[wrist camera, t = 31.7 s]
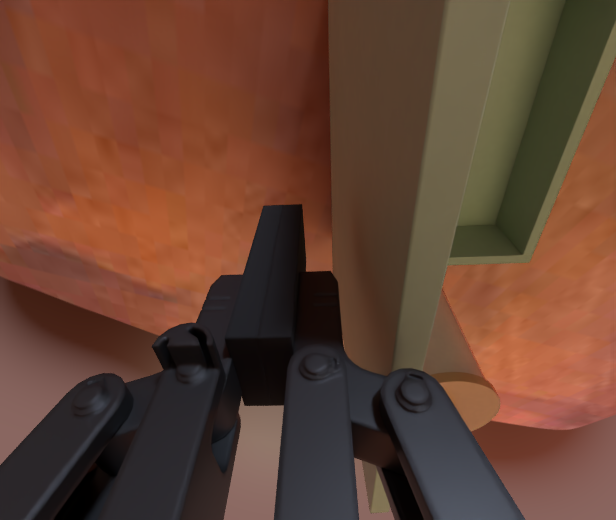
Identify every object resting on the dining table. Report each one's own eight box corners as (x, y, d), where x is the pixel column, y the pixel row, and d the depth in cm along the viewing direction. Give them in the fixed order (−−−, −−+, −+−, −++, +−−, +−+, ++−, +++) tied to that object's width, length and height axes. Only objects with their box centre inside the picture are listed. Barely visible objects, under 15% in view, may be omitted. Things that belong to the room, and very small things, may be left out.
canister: (359, 276, 35) (384, 422, 22) (432, 251, 33) (506, 396, 20) (382, 323, 39) (414, 469, 26) (448, 303, 37) (518, 451, 24)
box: (588, -54, 20) (672, -79, 15) (497, 227, 31) (529, 262, 27) (330, -33, 21) (335, -50, 16) (334, 233, 32) (337, 269, 27)
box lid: (640, -527, 2) (521, -516, 2) (389, 512, 14) (370, 513, 14) (343, -53, 16) (327, -51, 16) (342, 272, 27) (332, 272, 27)
